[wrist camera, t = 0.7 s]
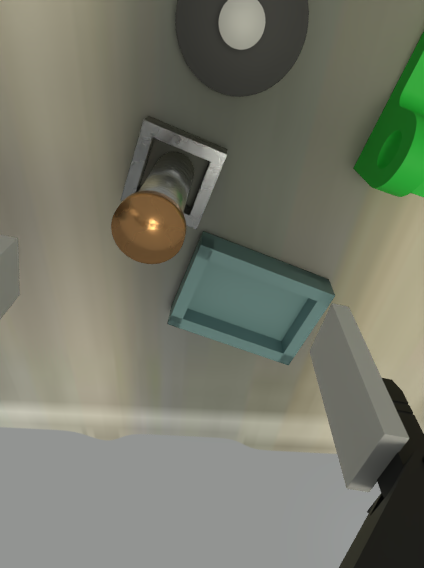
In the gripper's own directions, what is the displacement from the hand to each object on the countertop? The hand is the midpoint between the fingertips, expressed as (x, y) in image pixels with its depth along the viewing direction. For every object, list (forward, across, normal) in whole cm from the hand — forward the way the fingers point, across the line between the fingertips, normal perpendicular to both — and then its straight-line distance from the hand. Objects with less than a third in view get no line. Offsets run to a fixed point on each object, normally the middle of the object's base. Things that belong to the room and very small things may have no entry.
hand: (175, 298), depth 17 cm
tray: (+21, +8, -12) cm, 25 cm away
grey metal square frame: (+21, -2, -1) cm, 21 cm away
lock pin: (+21, -2, -1) cm, 21 cm away
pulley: (+21, +1, +10) cm, 23 cm away
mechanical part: (+21, +16, +8) cm, 28 cm away
